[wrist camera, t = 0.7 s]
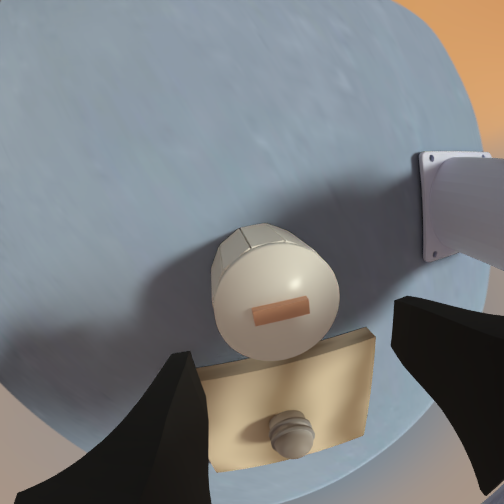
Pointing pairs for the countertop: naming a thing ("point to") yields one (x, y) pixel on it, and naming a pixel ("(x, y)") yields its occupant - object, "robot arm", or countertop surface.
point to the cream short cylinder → (271, 293)
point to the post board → (288, 402)
